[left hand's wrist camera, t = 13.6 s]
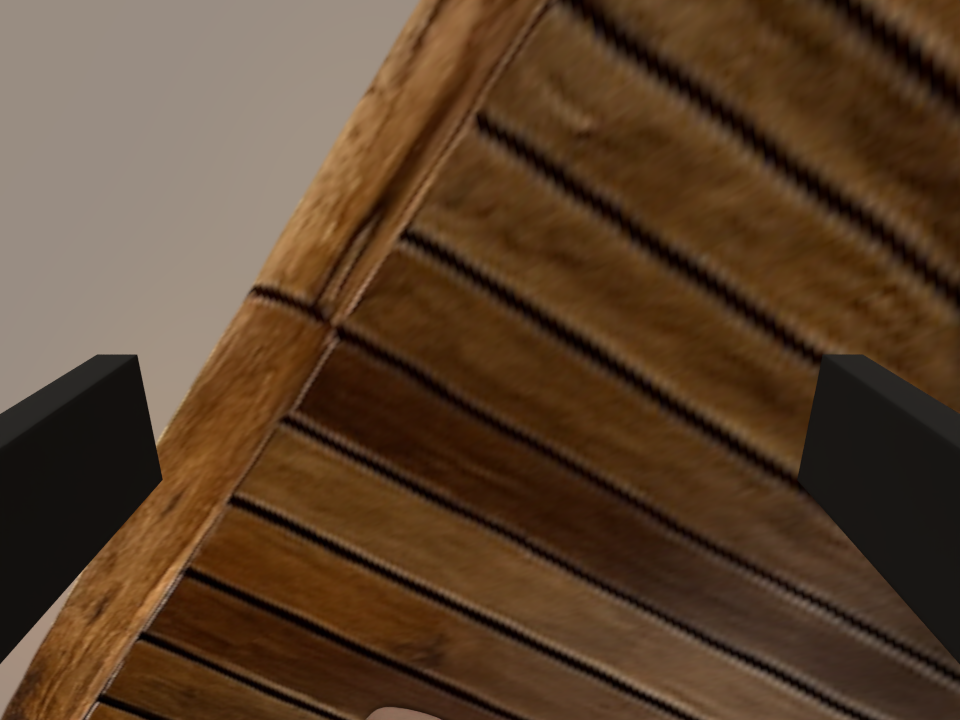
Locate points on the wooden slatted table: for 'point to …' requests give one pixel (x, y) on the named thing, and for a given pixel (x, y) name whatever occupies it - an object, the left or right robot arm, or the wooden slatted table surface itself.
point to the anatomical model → (399, 714)
